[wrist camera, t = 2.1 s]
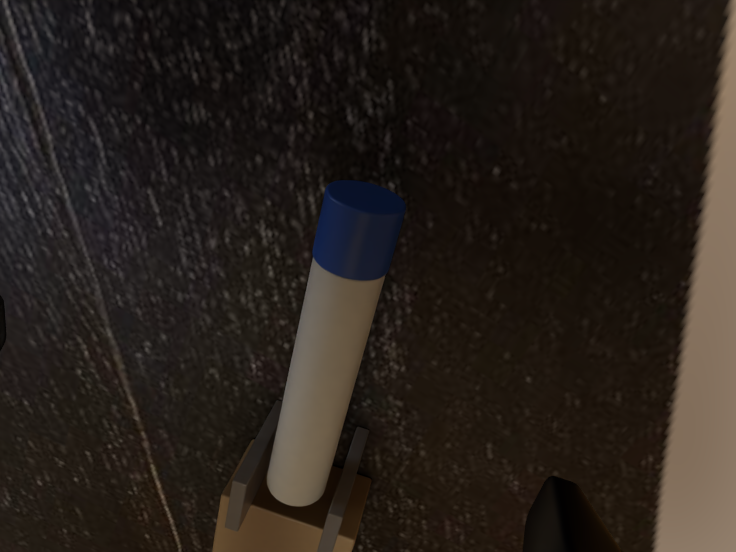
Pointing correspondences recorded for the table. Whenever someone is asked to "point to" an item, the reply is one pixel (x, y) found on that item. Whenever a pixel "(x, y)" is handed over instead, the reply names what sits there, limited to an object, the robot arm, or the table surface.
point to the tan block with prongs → (285, 522)
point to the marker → (332, 333)
